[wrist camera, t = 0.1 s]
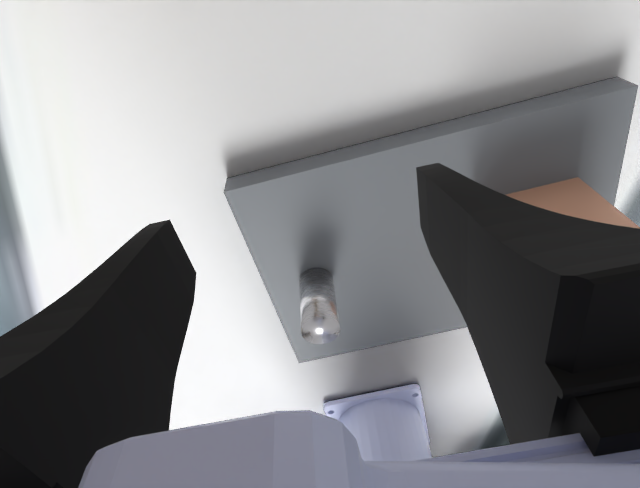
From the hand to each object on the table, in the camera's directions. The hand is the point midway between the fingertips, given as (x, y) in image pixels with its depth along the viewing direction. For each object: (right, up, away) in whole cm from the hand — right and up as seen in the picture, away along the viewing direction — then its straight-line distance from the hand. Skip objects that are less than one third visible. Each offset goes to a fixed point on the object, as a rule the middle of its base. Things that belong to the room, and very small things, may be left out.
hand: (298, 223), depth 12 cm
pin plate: (+7, 0, +13) cm, 15 cm away
